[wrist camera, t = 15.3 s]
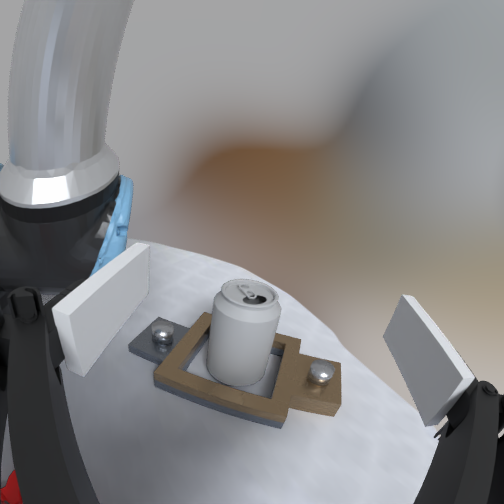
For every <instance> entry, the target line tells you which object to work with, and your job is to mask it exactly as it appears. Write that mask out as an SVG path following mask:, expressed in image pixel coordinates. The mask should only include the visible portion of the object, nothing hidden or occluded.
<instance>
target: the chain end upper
mask: <svg viewBox="0 0 504 504" xmlns="http://www.w3.org/2000/svg"><path fill="white" fill-rule="evenodd" d="M211 320H212V314H209V313H206V312H204V313H203V314H202V315H201V316H200V318H199V319H198V320H197V321H196V322H195V324H194V325H193V326H192V327H191V328H190V330H189V331H188V332H187V333H186V334H185V336H184V337H183V338H182V339H181V340H180V342H179V343H178V344H177V345H176V346H175V348H174V349H173V350H172V351H171V352H170V354H169V355H168V356H167V357H166V358H165V360H164V361H163V362H162V363H161V364H160V365H159V367H158V368H157V369H156V370H155V371H154V379H155V380H157V381H159V382H162V383H164V384H166V385H169V386H171V387H173V388H176V389H178V390H181V391H183V392H186V393H188V394H191V395H193V396H196V397H199V398H202V399H204V400H207V401H210V402H213V403H216V404H219V405H222V406H225V407H228V408H231V409H234V410H237V411H241V412H244V413H247V414H251V415H254V416H258V417H262V418H266V419H269V420H273V421H278V422H282V423H284V422H285V419H286V417H287V413H288V408H292V409H297V410H302V411H306V412H311V413H316V414H322V415H327V416H333V417H334V416H335V414H336V412H337V411H338V409H339V408H340V406H341V363H339V362H334V361H329V360H325V359H320V358H316V357H311V356H307V355H303V354H299V350H300V344H301V339H297V338H293V337H290V336H286V335H282V334H278V333H275V337H274V341H273V344H272V347H274V348H277V349H281V350H284V353H283V357H282V360H281V364H280V368H279V372H278V376H277V380H276V383H275V387H274V391H273V394H272V398H271V399H269V398H265V397H262V396H258V395H254V394H251V393H247V392H244V391H241V390H237V389H234V388H231V387H228V386H225V385H222V384H219V383H216V382H213V381H210V380H207V379H204V378H201V377H199V376H196V375H193V374H191V373H188V372H185V371H183V370H182V368H183V367H184V366H185V364H186V363H187V362H188V360H189V359H190V357H191V356H192V355H193V353H194V352H195V350H196V349H197V348H198V346H199V345H200V343H201V342H202V341H203V339H204V338H205V336H206V335H207V334H208V332H209V331H210V328H211Z"/></svg>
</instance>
